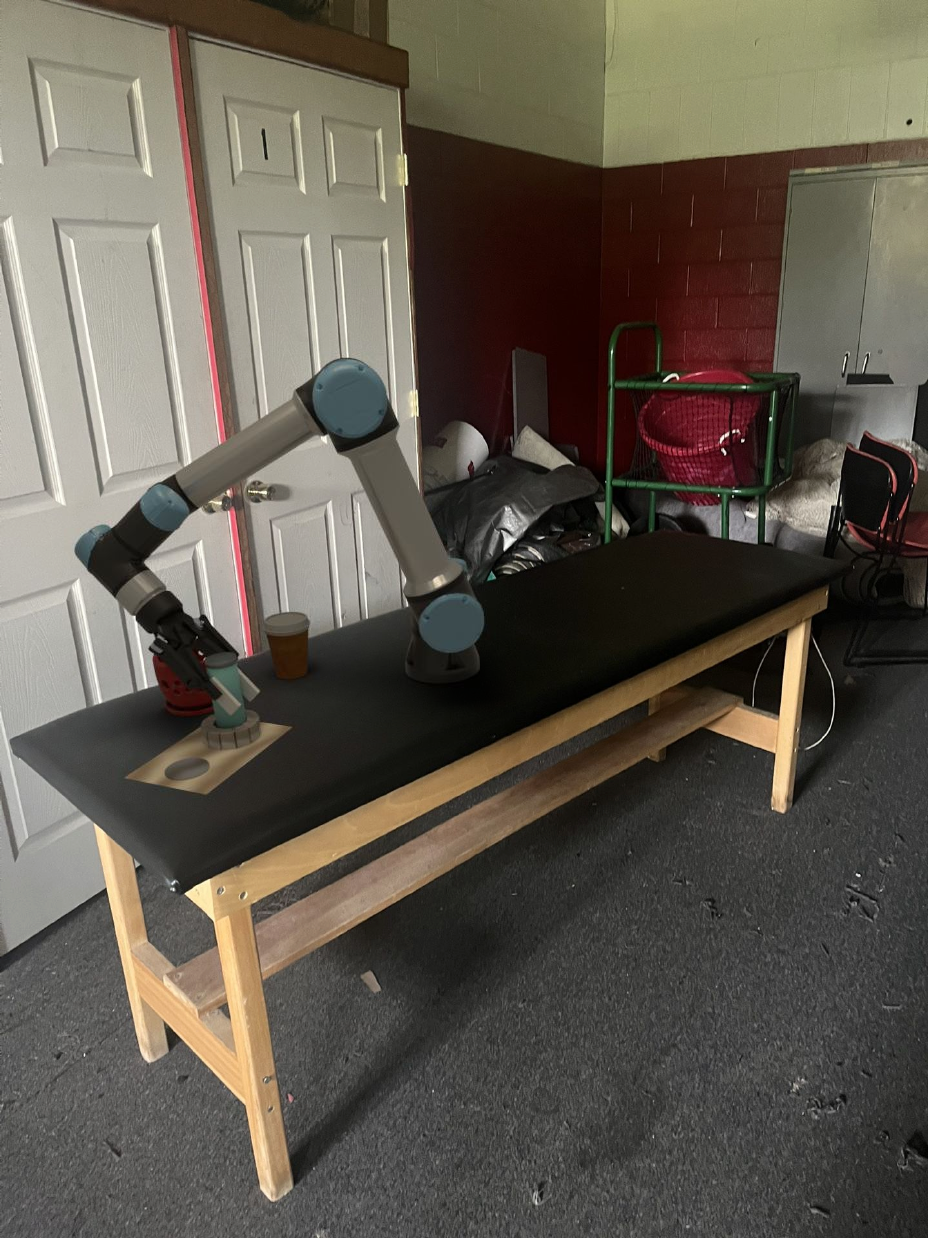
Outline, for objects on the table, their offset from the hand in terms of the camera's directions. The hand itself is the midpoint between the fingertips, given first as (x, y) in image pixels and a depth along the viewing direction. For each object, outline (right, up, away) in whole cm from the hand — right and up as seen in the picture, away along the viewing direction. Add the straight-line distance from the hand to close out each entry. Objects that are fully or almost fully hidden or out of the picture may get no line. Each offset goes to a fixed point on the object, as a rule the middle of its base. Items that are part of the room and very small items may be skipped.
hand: (245, 703), depth 149 cm
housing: (-5, -9, -1) cm, 10 cm away
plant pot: (-13, -3, +18) cm, 22 cm away
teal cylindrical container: (-3, -5, +3) cm, 6 cm away
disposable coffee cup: (+2, +3, +32) cm, 32 cm away
